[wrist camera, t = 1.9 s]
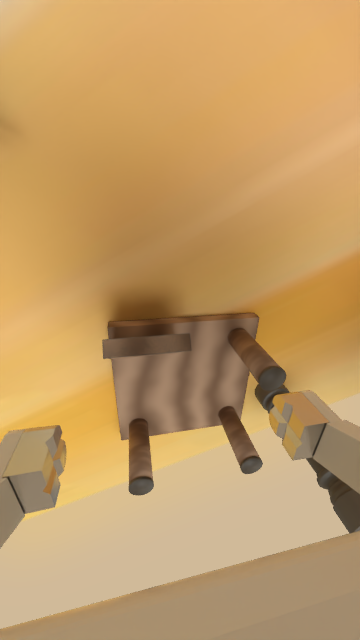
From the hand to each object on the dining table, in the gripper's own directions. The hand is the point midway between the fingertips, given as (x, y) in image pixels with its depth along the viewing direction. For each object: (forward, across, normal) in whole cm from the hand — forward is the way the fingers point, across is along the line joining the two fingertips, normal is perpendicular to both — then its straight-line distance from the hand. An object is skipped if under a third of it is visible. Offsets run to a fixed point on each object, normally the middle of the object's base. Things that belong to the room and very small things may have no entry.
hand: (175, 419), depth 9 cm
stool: (+29, -7, +22) cm, 37 cm away
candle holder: (+29, -26, +28) cm, 48 cm away
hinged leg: (+26, 0, +13) cm, 29 cm away
